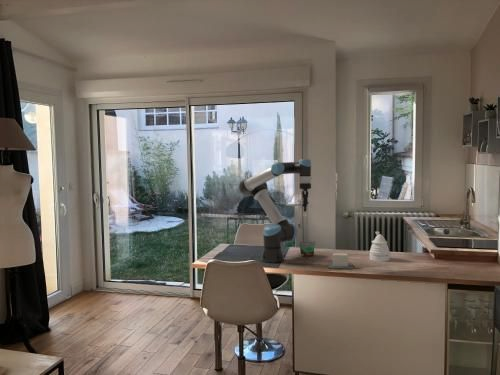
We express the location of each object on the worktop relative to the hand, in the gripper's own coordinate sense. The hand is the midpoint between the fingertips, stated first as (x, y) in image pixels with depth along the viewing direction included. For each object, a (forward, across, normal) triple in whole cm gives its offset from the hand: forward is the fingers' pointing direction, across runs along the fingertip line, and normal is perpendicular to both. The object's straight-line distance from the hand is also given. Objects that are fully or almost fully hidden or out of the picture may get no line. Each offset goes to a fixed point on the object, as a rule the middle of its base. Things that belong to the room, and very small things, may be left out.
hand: (305, 215), depth 276 cm
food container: (+31, +14, -2) cm, 34 cm away
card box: (+30, -11, -22) cm, 39 cm away
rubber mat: (+31, -11, -22) cm, 39 cm away
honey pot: (+31, +11, -49) cm, 59 cm away
